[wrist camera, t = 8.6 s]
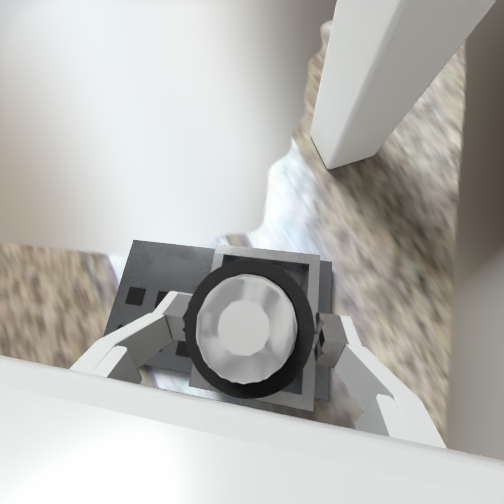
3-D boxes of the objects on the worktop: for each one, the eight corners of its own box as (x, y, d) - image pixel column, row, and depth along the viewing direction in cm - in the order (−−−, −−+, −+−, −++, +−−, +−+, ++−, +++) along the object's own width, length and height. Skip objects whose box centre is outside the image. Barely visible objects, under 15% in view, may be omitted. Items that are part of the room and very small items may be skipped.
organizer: (108, 351, 18) (68, 364, 14) (141, 243, 20) (114, 230, 17) (323, 393, 15) (340, 421, 12) (327, 264, 18) (342, 255, 14)
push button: (282, 367, 15) (301, 493, 5) (220, 349, 16) (139, 432, 6) (295, 285, 16) (330, 269, 7) (238, 273, 17) (195, 243, 8)
